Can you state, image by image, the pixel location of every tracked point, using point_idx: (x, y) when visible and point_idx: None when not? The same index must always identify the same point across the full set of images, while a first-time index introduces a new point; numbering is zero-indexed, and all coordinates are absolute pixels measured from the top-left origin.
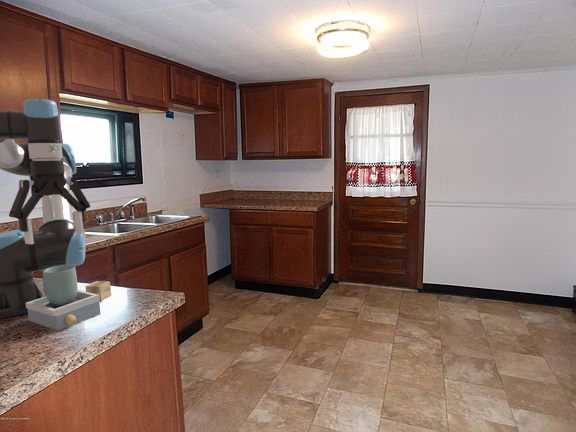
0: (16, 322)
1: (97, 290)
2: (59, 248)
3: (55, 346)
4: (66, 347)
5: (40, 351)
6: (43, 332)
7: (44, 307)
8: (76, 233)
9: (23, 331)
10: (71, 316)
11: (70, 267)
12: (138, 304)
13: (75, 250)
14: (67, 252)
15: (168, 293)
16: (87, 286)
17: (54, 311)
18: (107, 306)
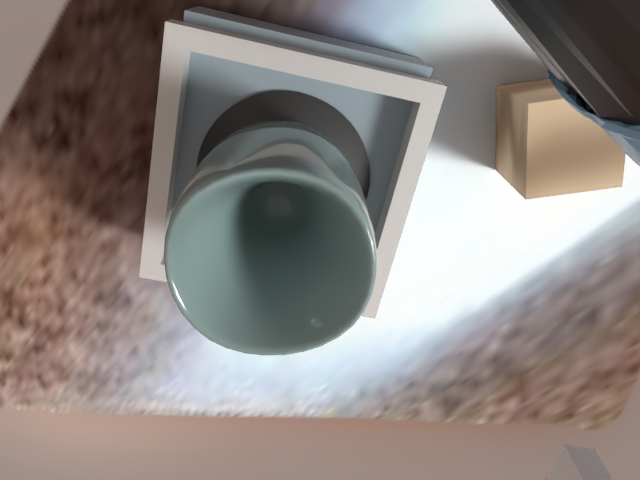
0: None
1: (516, 174)
2: (570, 60)
3: (76, 332)
4: (88, 368)
5: (30, 315)
6: (136, 195)
7: (154, 200)
8: (558, 461)
9: (107, 97)
10: None
11: (360, 276)
12: (480, 348)
13: (635, 156)
14: (579, 111)
15: (618, 384)
16: (527, 117)
17: (146, 276)
18: (441, 242)
